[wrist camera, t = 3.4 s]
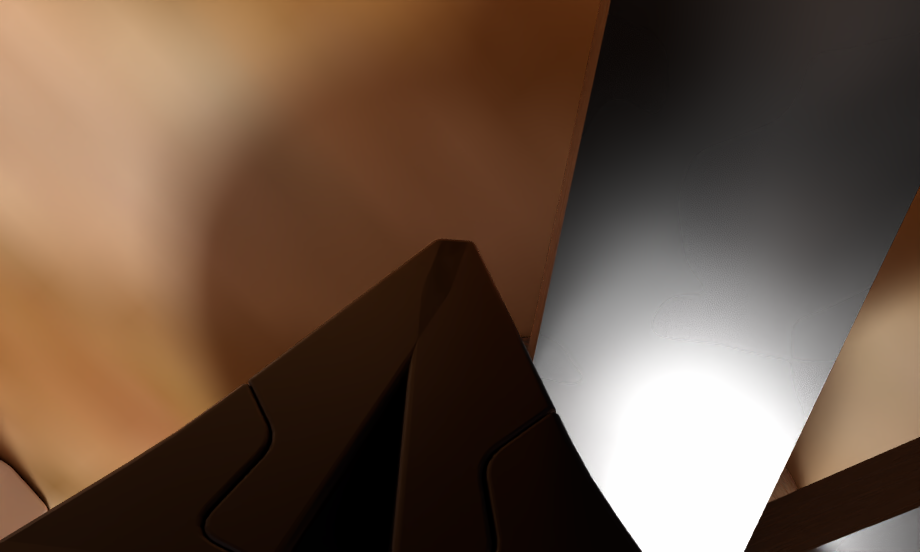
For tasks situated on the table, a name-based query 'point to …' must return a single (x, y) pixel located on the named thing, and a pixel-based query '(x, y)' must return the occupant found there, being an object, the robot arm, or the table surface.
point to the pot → (845, 508)
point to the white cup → (16, 502)
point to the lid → (720, 243)
